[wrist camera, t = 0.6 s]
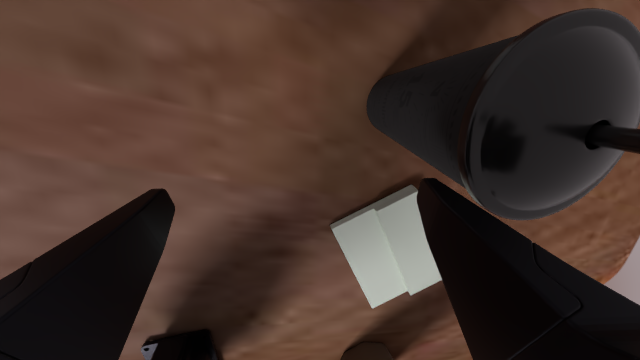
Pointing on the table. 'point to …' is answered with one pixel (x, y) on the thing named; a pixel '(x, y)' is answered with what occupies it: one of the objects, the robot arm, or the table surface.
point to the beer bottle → (368, 352)
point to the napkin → (388, 247)
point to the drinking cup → (523, 112)
